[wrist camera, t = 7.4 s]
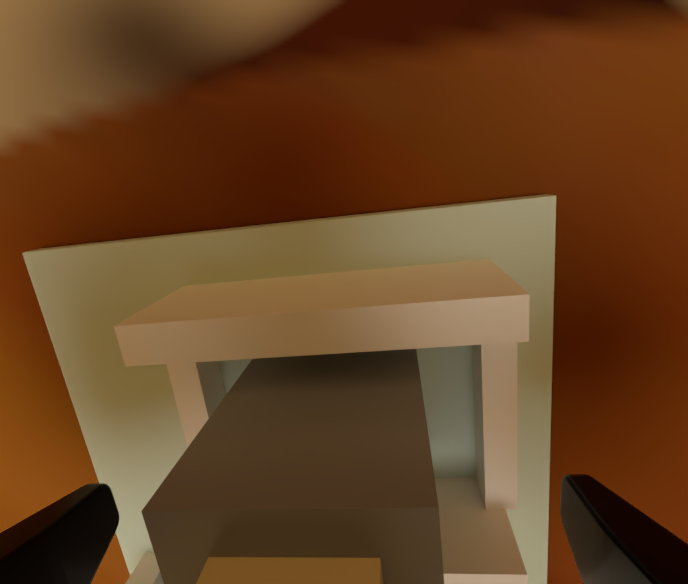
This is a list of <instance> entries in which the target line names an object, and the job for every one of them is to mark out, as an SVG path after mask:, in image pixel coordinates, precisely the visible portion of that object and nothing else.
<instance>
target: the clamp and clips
mask: <svg viewBox="0 0 688 584" xmlns="http://www.w3.org/2000/svg"><path fill="white" fill-rule="evenodd" d="M126 584H164V582H163V579H162V576H161V573H160V570H159V566H158V563H157V560H156V557H155V554H154V553H151V552H147V551H146V552H145V554H144V555H143V557H142V559H141V560H140V562H139V563H138V565H137V566H136V568H135V570H134V571H133V573H132V574H131V576H130V577H129V579H128V580H127V582H126Z"/></svg>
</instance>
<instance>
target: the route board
mask: <svg viewBox="0 0 688 584" xmlns="http://www.w3.org/2000/svg"><path fill="white" fill-rule="evenodd" d="M555 230H556V195H550V194H543V195H534V196H524V197H515V198H506V199H497V200H487V201H478V202H469V203H459V204H450V205H441V206H431V207H422V208H413V209H404V210H394V211H385V212H376V213H366V214H357V215H348V216H338V217H329V218H320V219H311V220H301V221H292V222H283V223H273V224H264V225H255V226H246V227H236V228H227V229H218V230H208V231H199V232H190V233H180V234H171V235H162V236H153V237H143V238H134V239H125V240H115V241H106V242H97V243H87V244H78V245H69V246H60V247H50V248H41V249H36V250H31V251H27V252H23V253H22V254H23V257H24V260H25V263H26V266H27V269H28V272H29V275H30V278H31V281H32V284H33V287H34V290H35V293H36V296H37V299H38V302H39V305H40V308H41V311H42V314H43V317H44V320H45V323H46V326H47V329H48V332H49V335H50V338H51V341H52V344H53V347H54V350H55V353H56V356H57V359H58V362H59V365H60V368H61V371H62V374H63V377H64V380H65V383H66V385H67V388H68V391H69V394H70V397H71V400H72V403H73V406H74V409H75V412H76V415H77V418H78V421H79V424H80V427H81V430H82V433H83V436H84V439H85V442H86V445H87V448H88V451H89V454H90V457H91V460H92V463H93V466H94V469H95V472H96V475H97V478H98V481H99V483H104V484H107V485H108V486H109V487H110V488H111V490H112V493H113V497H114V500H115V503H116V506H117V509H118V512H119V524H118V527H117V530H116V535H117V538H118V541H119V543H120V546H121V549H122V552H123V555H124V558H125V561H126V564H127V567H128V570H129V573H130V576H131V574H132V573H133V571H134V570H135V568H136V566H137V565H138V563H139V562H140V560H141V559H142V557H143V555H144V554H145V552H146V551H147V552H151V553H154V550H153V547H152V544H151V541H150V538H149V534H148V531H147V528H146V525H145V522H144V519H143V515H142V512H141V511H142V510H143V508H144V507H145V506H146V504H147V503H148V501H149V500H150V499H151V497H152V496H153V495H154V493H155V492H156V490H157V489H158V488H159V486H160V485H161V484H162V482H163V481H164V479H165V478H166V477H167V475H168V474H169V473H170V471H171V470H172V468H173V467H174V466H175V464H176V463H177V462H178V460H179V459H180V457H181V456H182V455H183V453H184V452H185V451H186V449H187V448H188V447H187V443H186V439H185V435H184V432H183V428H182V424H181V420H180V416H179V412H178V408H177V404H176V401H175V397H174V393H173V389H172V385H171V381H170V377H169V373H168V369H167V366H166V364H159V365H143V366H127V367H125V364H124V360H123V357H122V353H121V350H120V346H119V343H118V339H117V336H116V333H115V329H114V326H115V325H117V324H118V323H120V322H122V321H124V320H125V319H127V318H129V317H131V316H132V315H134V314H136V313H138V312H139V311H141V310H143V309H145V308H147V307H148V306H150V305H152V304H154V303H155V302H157V301H159V300H161V299H162V298H164V297H166V296H168V295H169V294H171V293H173V292H175V291H176V290H178V289H180V288H182V287H183V286H189V285H200V284H212V283H223V282H234V281H245V280H257V279H268V278H279V277H290V276H302V275H313V274H324V273H335V272H347V271H358V270H369V269H380V268H392V267H403V266H414V265H425V264H437V263H448V262H459V261H470V260H482V259H491V260H492V261H493V262H494V263H495V264H497V265H498V266H499V267H500V268H501V269H502V270H503V271H504V272H505V273H506V274H508V275H509V276H510V277H511V278H512V279H513V280H514V281H515V282H516V283H518V284H519V285H520V286H521V287H522V288H523V289H524V290H525V291H526V292H527V293H529V294H530V298H529V342H517V405H518V509H511V510H506V512H507V515H508V518H509V521H510V524H511V527H512V530H513V533H514V536H515V539H516V542H517V545H518V548H519V551H520V554H521V557H522V560H523V563H524V566H525V569H526V572H527V575H528V578H527V584H547V562H548V521H549V479H550V438H551V396H552V355H553V313H554V272H555ZM416 351H417V358H418V365H419V372H420V379H421V386H422V393H423V400H424V407H425V414H426V421H427V428H428V435H429V442H430V449H431V456H432V463H433V471H434V478H448V477H476V448H475V419H474V389H473V360H472V345H467V346H451V347H435V348H419V349H416ZM251 360H252V359H240V360H224V361H219V365H220V369H221V374H222V379H223V383H224V388H225V392H226V394H227V393H228V392H229V390H230V389H231V387H232V386H233V385H234V383H235V382H236V381H237V379H238V378H239V376H240V375H241V374H242V372H243V371H244V370H245V368H246V367H247V365H248V364H249V363H250V361H251Z"/></svg>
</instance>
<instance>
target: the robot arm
mask: <svg viewBox="0 0 688 584" xmlns="http://www.w3.org/2000/svg"><path fill="white" fill-rule="evenodd" d="M561 519H562V523H563V527H564V530H565V532H566V535H567V538H568V541H569V544H570V547H571V550H572V552H573V555H574V558H575V561H576V564H577V567H578V570H579V573H580V575H581V578H582V581H583V584H688V544H687V543H685V542H684V541H683V540H681V539H680V538H678V537H677V536H675V535H674V534H673V533H671V532H670V531H668V530H667V529H665V528H664V527H663V526H661V525H660V524H658V523H657V522H655V521H654V520H653V519H651V518H650V517H648V516H647V515H645V514H644V513H643V512H641V511H640V510H638V509H637V508H635V507H634V506H633V505H631V504H630V503H628V502H627V501H625V500H624V499H622V498H621V497H620V496H618V495H617V494H615V493H614V492H612V491H611V490H610V489H608V488H607V487H605V486H604V485H602V484H601V483H600V482H598V481H597V480H595V479H594V478H592V477H591V476H589V475H585V474H572V475H565V476H564V477H563V479H562V486H561ZM118 524H119V512H118V509H117V506H116V503H115V500H114V497H113V493H112V490H111V488H110V487H109V486H108V485H107V484H104V483H96V484H87V485H84V486H83V487H81V488H79V489H77V490H75V491H74V492H72V493H70V494H68V495H67V496H65V497H63V498H61V499H60V500H58V501H56V502H54V503H53V504H51V505H49V506H47V507H46V508H44V509H42V510H40V511H38V512H37V513H35V514H33V515H31V516H30V517H28V518H26V519H24V520H23V521H21V522H19V523H17V524H16V525H14V526H12V527H10V528H9V529H7V530H5V531H3V532H1V533H0V584H91V582H92V580H93V578H94V576H95V573H96V571H97V569H98V567H99V565H100V563H101V561H102V559H103V557H104V555H105V553H106V550H107V548H108V546H109V544H110V542H111V540H112V538H113V536H114V534H115V532H116V530H117V527H118Z"/></svg>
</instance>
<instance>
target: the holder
mask: <svg viewBox="0 0 688 584" xmlns="http://www.w3.org/2000/svg"><path fill="white" fill-rule="evenodd" d="M529 298H530V294H529V293H527V292H526V291H525V290H524V289H523V288H522V287H521V286H520V285H519V284H518V283H516V282H515V281H514V280H513V279H512V278H511V277H510V276H509V275H508V274H506V273H505V272H504V271H503V270H502V269H501V268H500V267H499V266H498V265H497V264H495V263H494V262H493V261H492V260H491V259H482V260H470V261H459V262H448V263H437V264H425V265H414V266H403V267H392V268H380V269H369V270H358V271H347V272H335V273H324V274H313V275H302V276H290V277H279V278H268V279H257V280H245V281H234V282H223V283H212V284H200V285H189V286H183V287H182V288H180V289H178V290H176V291H175V292H173V293H171V294H169V295H168V296H166V297H164V298H162V299H161V300H159V301H157V302H155V303H154V304H152V305H150V306H148V307H147V308H145V309H143V310H141V311H139V312H138V313H136V314H134V315H132V316H131V317H129V318H127V319H125V320H124V321H122V322H120V323H118V324H117V325H115V326H114V329H115V333H116V336H117V339H118V343H119V346H120V350H121V353H122V357H123V360H124V364H125V367H127V366H143V365H159V364H166V366H167V369H168V373H169V377H170V381H171V385H172V389H173V393H174V397H175V401H176V404H177V408H178V412H179V416H180V420H181V424H182V428H183V432H184V435H185V439H186V443H187V447H188V446H189V445H190V444H191V442H192V441H193V440H194V438H195V437H196V435H197V434H198V433H199V431H200V430H201V429H202V427H203V426H204V424H205V423H206V422H207V420H208V419H209V418H210V416H211V415H212V413H213V412H214V411H215V409H216V408H217V407H218V405H219V404H220V403H221V401H222V400H223V398H224V397H225V396H226V392H225V388H224V383H223V379H222V374H221V369H220V365H219V361H224V360H240V359H256V358H273V357H289V356H305V355H321V354H337V353H354V352H370V351H386V350H402V349H419V348H435V347H451V346H467V345H472V360H473V389H474V419H475V448H476V477H448V478H435V485H436V492H437V499H438V506H439V518H440V532H441V547H442V561H443V575H444V584H527V578H528V575H527V572H526V569H525V566H524V563H523V560H522V557H521V554H520V551H519V548H518V545H517V542H516V539H515V536H514V533H513V530H512V527H511V524H510V521H509V518H508V515H507V512H506V510H511V509H518V405H517V342H529Z"/></svg>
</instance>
